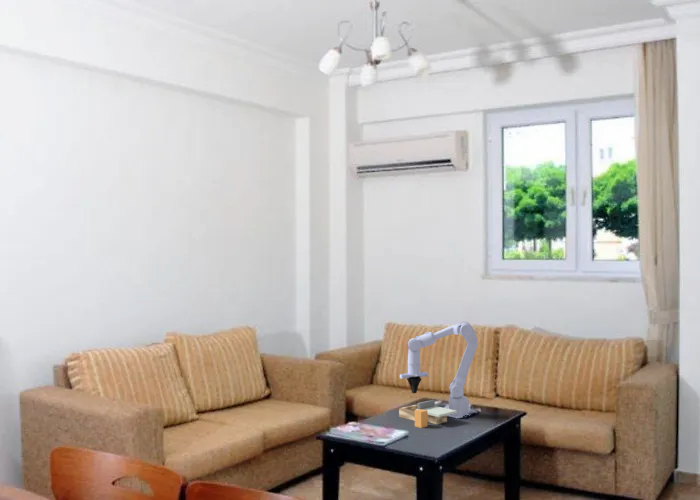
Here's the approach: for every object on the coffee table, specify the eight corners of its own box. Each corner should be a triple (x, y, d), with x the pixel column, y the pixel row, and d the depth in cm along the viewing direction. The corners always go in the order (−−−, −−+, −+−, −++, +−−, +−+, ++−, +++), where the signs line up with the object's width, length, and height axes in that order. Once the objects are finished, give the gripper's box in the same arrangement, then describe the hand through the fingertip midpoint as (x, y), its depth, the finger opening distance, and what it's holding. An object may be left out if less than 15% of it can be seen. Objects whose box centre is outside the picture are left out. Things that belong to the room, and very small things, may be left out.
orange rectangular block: (421, 424, 327) (421, 409, 327) (427, 426, 324) (427, 410, 324) (414, 426, 324) (414, 410, 324) (421, 427, 321) (421, 411, 321)
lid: (433, 407, 341) (433, 399, 341) (456, 412, 331) (456, 404, 331) (415, 411, 333) (415, 403, 333) (438, 417, 323) (438, 408, 323)
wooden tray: (416, 412, 349) (416, 404, 349) (450, 420, 333) (450, 412, 333) (399, 416, 341) (399, 408, 341) (432, 425, 325) (432, 416, 325)
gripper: (405, 366, 338) (405, 395, 338) (431, 364, 344) (431, 393, 345) (397, 364, 344) (397, 393, 344) (423, 361, 351) (423, 390, 351)
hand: (414, 392), depth 345 cm, fingers closed
